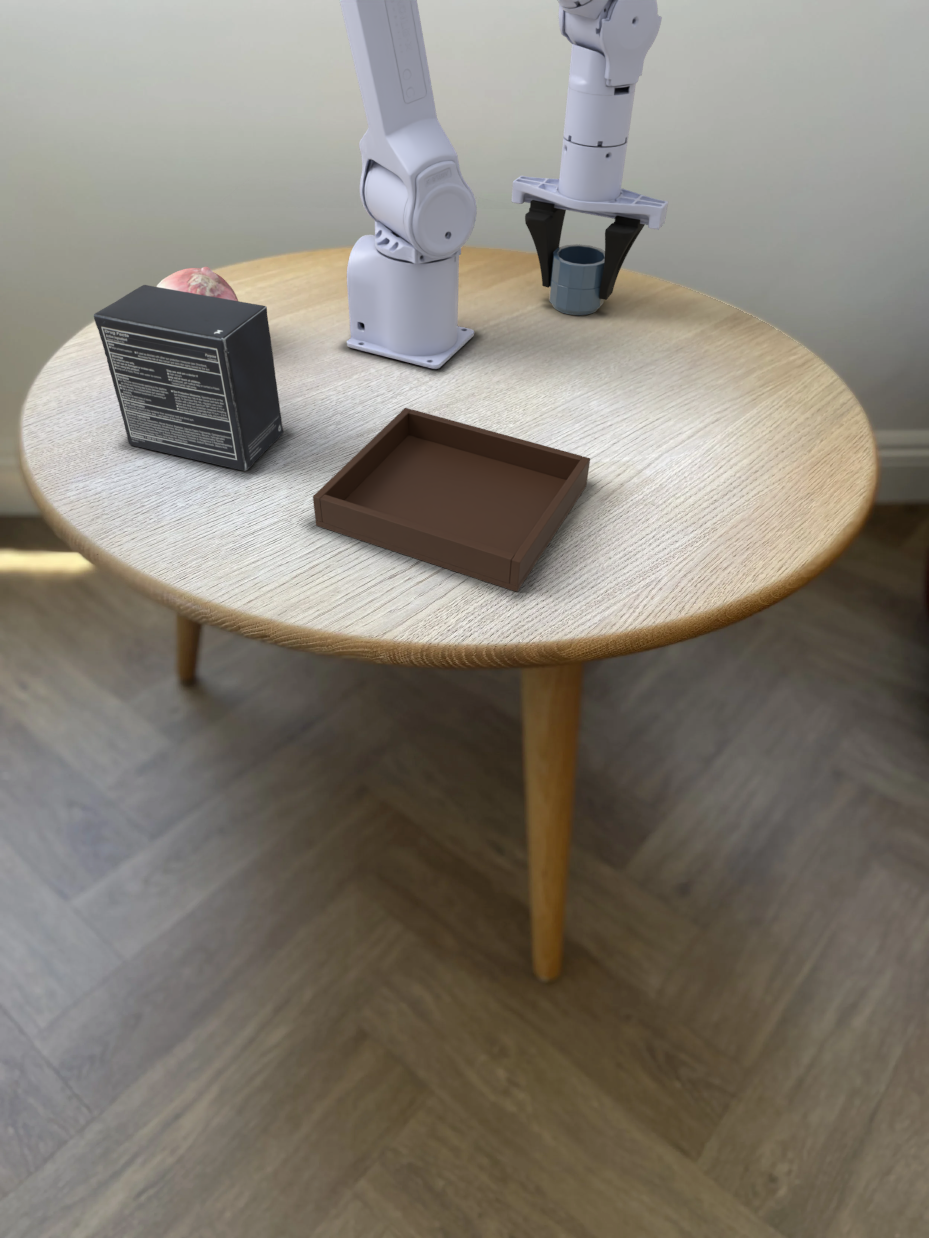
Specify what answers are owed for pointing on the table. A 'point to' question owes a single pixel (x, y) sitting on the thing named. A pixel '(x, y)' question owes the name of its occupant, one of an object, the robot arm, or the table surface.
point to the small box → (193, 374)
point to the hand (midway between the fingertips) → (577, 289)
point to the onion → (199, 283)
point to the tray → (454, 496)
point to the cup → (576, 279)
